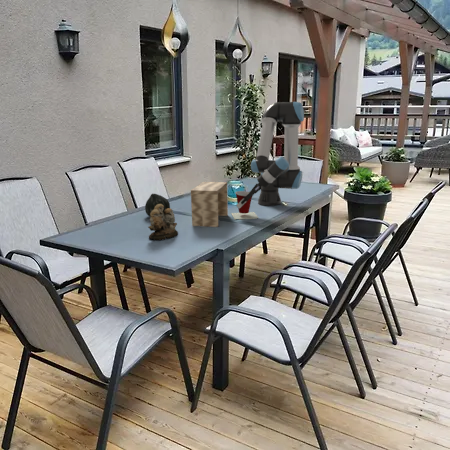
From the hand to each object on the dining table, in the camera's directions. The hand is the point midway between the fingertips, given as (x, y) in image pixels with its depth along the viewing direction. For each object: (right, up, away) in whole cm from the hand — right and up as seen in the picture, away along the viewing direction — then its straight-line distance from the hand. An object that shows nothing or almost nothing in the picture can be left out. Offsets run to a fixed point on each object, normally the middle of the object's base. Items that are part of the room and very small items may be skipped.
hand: (239, 205), depth 263 cm
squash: (-49, -7, +5) cm, 49 cm away
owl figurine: (-40, -18, -35) cm, 56 cm away
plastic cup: (+3, -5, +1) cm, 5 cm away
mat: (+3, -7, +1) cm, 7 cm away
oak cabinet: (-17, -9, -7) cm, 20 cm away
